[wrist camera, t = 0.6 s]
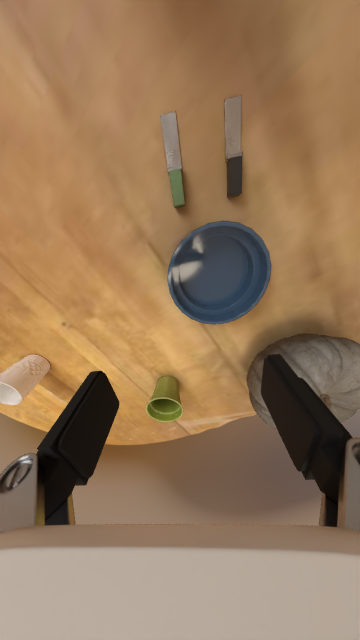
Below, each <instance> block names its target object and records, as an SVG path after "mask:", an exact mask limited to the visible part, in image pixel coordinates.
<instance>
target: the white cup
mask: <svg viewBox="0 0 360 640" xmlns="http://www.w3.org/2000/svg"><path fill="white" fill-rule="evenodd" d="M49 370H50V364H49V362H48V361H47V360H46V359H45V358H43V357H41V356H39V355H35V354H32V355H28V356H26V357H25V358H23V359H22V360H21V361H19V362H17V363H15V364H14V365H12V366H11V367H10V368H8V369H6V370H5V371H3V372H2V373H1V374H0V403H3V404H7V405H16V404H19V403H21V401H22V400H23V399H24V398H25V397H26V396H27V395H28V394H29V393H30V392H31V391H32V389H33V388H34V387H35V386H36V385H37V384H38V383H39V382H40V381H41V379H42V378H43V377H44V376H45V374H46V373H47V372H48V371H49Z"/></svg>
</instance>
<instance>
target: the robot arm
mask: <svg viewBox="0 0 360 640" xmlns="http://www.w3.org/2000/svg"><path fill="white" fill-rule="evenodd" d="M261 396H262V398H263V400H264V402H265V405H266V407H267V409H268V411H269V413H270V415H271V417H272V419H273V421H274V423H275V426H276V428H277V430H278V432H279V434H280V436H281V438H282V440H283V442H284V444H285V446H286V448H287V451H288V453H289V455H290V457H291V459H292V461H293V463H294V465H295V467H296V469H297V470H298V471H301V472H302V474H303V476H304V478H305V480H311V479H315V481H316V483H317V485H318V487H319V489H320V491H321V492H322V500H321V509H320V518H319V526H307V525H260V524H259V525H258V524H256V525H255V524H252V525H251V524H240V525H239V524H115V525H112V524H111V525H75V516H74V507H73V500H72V499H73V498H72V491H73V488H74V486H75V485H86V484H87V482H88V479H89V478H90V477H91V476H92V475H93V473H94V470H95V468H96V465H97V462H98V460H99V457H100V455H101V452H102V449H103V447H104V444H105V442H106V439H107V437H108V434H109V431H110V429H111V426H112V424H113V421H114V418H115V416H116V413H117V411H118V408H119V400H118V398H117V396H116V394H115V392H114V390H113V388H112V386H111V384H110V382H109V380H108V378H107V376H106V374H105V373H103V372H102V371H94V372H90V373H89V375H88V376H87V378H86V379H85V381H84V382H83V383H82V385H81V386H80V388H79V389H78V391H77V392H76V393H75V395H74V396H73V398H72V399H71V401H70V402H69V403H68V405H67V406H66V408H65V409H64V411H63V412H62V414H61V415H60V416H59V418H58V419H57V421H56V422H55V424H54V425H53V426H52V428H51V429H50V431H49V432H48V434H47V435H46V437H45V438H44V439H43V441H42V442H41V444H40V445H39V447H38V448H37V449H38V450H39V451H38V452H37V454H35V453H27V454H24V455H22V456H21V457H19V458H17V459H16V460H14V461H13V462H12V463H11V464H10V465H8V466H7V467H6V468H5V469H4V471H3V472H2V473H1V474H0V640H360V438H357V437H356V438H353V437H352V436H351V435H350V434H349V432H348V431H347V430H346V429H345V428H344V426H343V425H342V424H341V423H340V422H339V420H338V419H337V418H336V417H335V416H334V414H333V413H332V412H331V411H330V410H329V408H328V407H327V406H326V405H325V404H324V402H323V401H322V400H321V399H320V398H319V396H318V395H317V394H316V393H315V392H314V390H313V389H312V388H311V387H310V386H309V384H308V383H307V382H306V381H305V380H304V379H303V378H299V377H298V376H297V374H296V373H295V372H294V371H293V369H292V368H291V367H290V366H289V364H288V363H287V362H286V361H285V359H284V358H283V357H282V356H281V355H280V354H272V355H268V356H267V358H264V364H263V373H262V382H261Z"/></svg>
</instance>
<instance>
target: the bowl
mask: <svg viewBox="0 0 360 640" xmlns="http://www.w3.org/2000/svg"><path fill="white" fill-rule="evenodd" d="M270 273H271V261H270V255H269V251H268V249H267V247H266V245H265V243H264V241H263V240H262V238H261V237H260V236H259V235H258V234H257V233H256V232H255V231H254V230H252V229H251V228H249V227H247V226H245V225H243V224H240V223H237V222H230V221H219V222H213V223H208V224H206V225H204V226H202V227H200V228H198V229H196V230H194V231H192V232H191V233H190V234H189V235H187V236H186V237H185V238H184V239H183V240H182V241H181V243H180V244H179V246H178V247H177V249H176V250H175V252H174V254H173V256H172V259H171V262H170V265H169V269H168V286H169V291H170V294H171V296H172V299H173V301H174V303H175V305H176V306H177V307H178V308H179V309H180V310H181V311H182V313H184V314H185V315H187V316H188V317H190V318H191V319H193V320H195V321H198V322H201V323H206V324H223V323H228V322H231V321H233V320H236V319H238V318H240V317H242V316H243V315H245V314H247V313H248V312H249V311H250V310H251V309H252V308H254V307H255V306H256V305H257V304H258V302H259V301H260V299H261V298H262V296H263V295H264V293H265V291H266V289H267V286H268V283H269V281H270Z"/></svg>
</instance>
